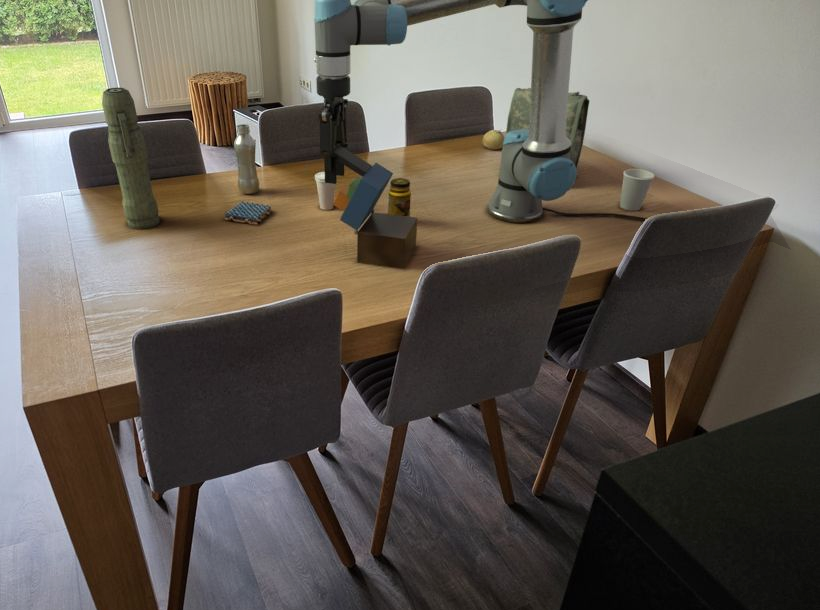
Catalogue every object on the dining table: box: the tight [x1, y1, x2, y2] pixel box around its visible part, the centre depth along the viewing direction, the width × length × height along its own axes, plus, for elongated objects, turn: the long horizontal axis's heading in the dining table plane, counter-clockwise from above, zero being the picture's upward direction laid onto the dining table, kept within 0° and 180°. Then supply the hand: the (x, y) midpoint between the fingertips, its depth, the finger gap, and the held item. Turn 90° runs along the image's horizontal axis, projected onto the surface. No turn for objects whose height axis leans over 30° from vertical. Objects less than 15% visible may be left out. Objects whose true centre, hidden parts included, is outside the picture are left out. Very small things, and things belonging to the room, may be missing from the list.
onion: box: [482, 128, 505, 151], centre depth 224 cm, size 8×8×7 cm
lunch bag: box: [505, 87, 590, 171], centre depth 194 cm, size 22×16×27 cm
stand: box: [353, 208, 419, 270], centre depth 152 cm, size 12×14×8 cm
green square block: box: [346, 176, 362, 199], centre depth 147 cm, size 3×6×6 cm
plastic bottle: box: [233, 123, 260, 195], centre depth 184 cm, size 6×7×20 cm
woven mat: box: [224, 200, 273, 226], centre depth 174 cm, size 10×11×2 cm
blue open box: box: [334, 146, 394, 231], centre depth 148 cm, size 12×12×14 cm
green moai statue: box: [101, 87, 161, 230], centre depth 161 cm, size 9×12×35 cm
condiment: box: [387, 177, 412, 217], centre depth 168 cm, size 7×8×12 cm
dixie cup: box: [619, 168, 656, 212], centre depth 177 cm, size 8×8×10 cm
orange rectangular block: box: [333, 185, 350, 212], centre depth 150 cm, size 4×4×8 cm
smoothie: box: [314, 171, 336, 211], centre depth 176 cm, size 6×6×14 cm
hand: (334, 178), depth 148 cm, fingers closed on blue open box, 5 cm apart
